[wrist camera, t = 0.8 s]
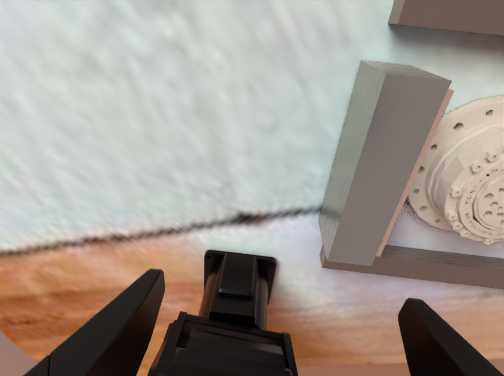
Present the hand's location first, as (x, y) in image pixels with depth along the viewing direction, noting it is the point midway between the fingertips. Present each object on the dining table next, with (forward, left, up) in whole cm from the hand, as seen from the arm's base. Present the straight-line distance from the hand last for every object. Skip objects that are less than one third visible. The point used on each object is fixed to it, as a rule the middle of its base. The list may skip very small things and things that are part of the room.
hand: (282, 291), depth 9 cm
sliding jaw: (0, -6, -13) cm, 14 cm away
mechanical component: (0, -14, -13) cm, 19 cm away
